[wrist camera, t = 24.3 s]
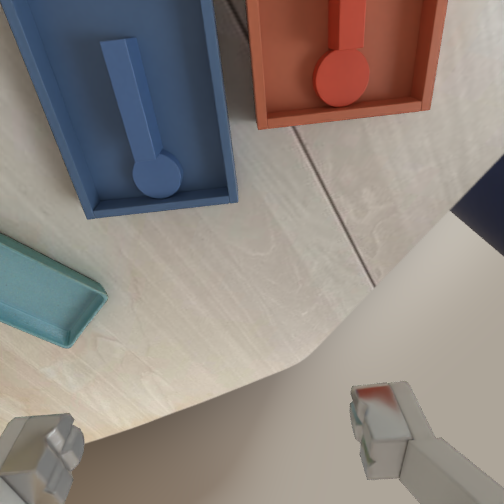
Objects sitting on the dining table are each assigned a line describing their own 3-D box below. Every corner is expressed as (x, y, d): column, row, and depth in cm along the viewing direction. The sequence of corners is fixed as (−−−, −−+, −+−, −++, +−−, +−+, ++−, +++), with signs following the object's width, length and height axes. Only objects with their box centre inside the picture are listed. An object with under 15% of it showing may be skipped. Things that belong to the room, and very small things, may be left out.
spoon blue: (96, 42, 24) (81, 44, 21) (152, 34, 24) (142, 36, 21) (142, 195, 30) (134, 211, 27) (187, 190, 30) (182, 205, 27)
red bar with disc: (310, -97, 21) (320, -114, 18) (375, -106, 20) (395, -124, 18) (312, 107, 27) (320, 115, 24) (362, 101, 27) (376, 109, 24)
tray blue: (205, -58, 22) (202, -67, 20) (238, 190, 30) (238, 202, 28) (7, -33, 22) (-17, -39, 20) (97, 206, 31) (86, 219, 29)
